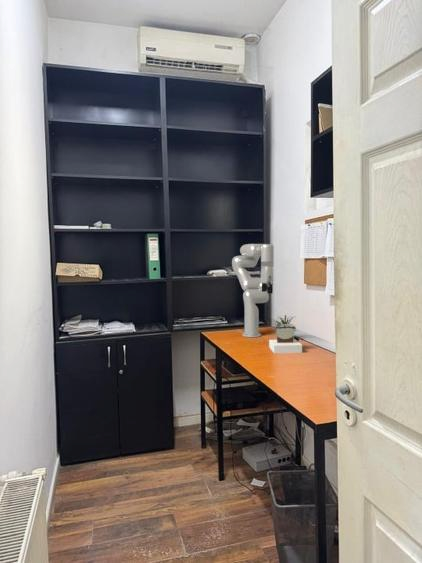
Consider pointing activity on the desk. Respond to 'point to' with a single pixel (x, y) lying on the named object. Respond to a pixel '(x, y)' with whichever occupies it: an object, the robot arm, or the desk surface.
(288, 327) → the food container
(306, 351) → the desk surface
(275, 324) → the house plant
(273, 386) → the desk surface
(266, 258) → the robot arm
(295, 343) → the base block
